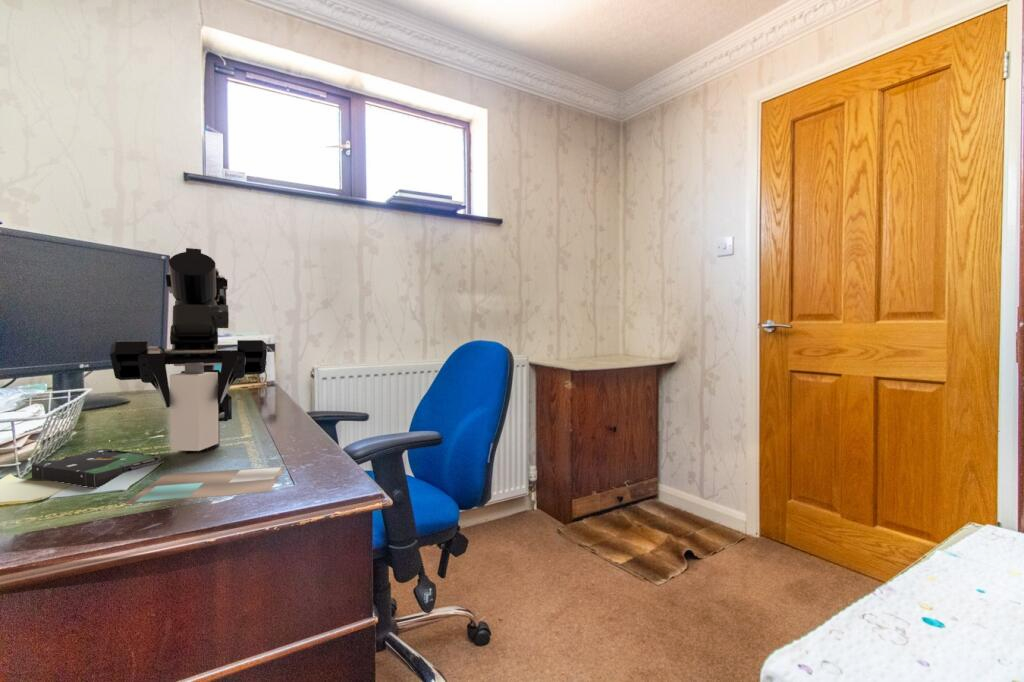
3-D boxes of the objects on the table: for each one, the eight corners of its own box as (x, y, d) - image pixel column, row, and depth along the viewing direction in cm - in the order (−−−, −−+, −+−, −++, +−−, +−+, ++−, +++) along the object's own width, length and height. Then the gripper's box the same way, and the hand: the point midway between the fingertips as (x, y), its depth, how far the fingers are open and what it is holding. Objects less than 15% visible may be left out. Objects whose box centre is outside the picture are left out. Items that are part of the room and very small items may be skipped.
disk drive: (29, 482, 72) (95, 491, 68) (28, 464, 72) (95, 472, 68) (103, 463, 82) (165, 470, 78) (103, 448, 82) (165, 454, 78)
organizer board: (164, 482, 71) (164, 474, 71) (285, 473, 76) (285, 465, 75) (124, 513, 59) (123, 504, 59) (269, 500, 64) (269, 491, 64)
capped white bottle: (192, 442, 67) (190, 361, 67) (218, 443, 67) (217, 362, 66) (170, 450, 63) (169, 363, 63) (199, 450, 63) (197, 364, 62)
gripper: (110, 282, 62) (94, 370, 53) (265, 289, 73) (273, 364, 64) (121, 338, 69) (109, 423, 60) (261, 337, 79) (268, 410, 71)
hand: (194, 403), depth 64 cm, fingers closed on capped white bottle, 5 cm apart
